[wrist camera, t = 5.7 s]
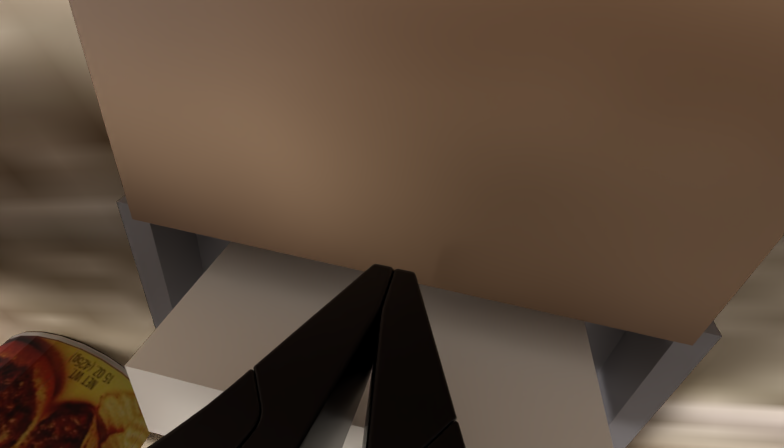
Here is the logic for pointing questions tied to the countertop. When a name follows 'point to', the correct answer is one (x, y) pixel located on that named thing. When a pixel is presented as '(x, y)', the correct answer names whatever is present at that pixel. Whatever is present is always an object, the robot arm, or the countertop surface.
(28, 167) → the countertop surface
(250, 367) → the cream tile
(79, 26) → the plate
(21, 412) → the canned food
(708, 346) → the box
